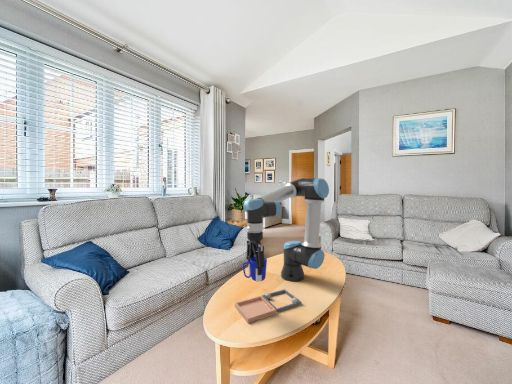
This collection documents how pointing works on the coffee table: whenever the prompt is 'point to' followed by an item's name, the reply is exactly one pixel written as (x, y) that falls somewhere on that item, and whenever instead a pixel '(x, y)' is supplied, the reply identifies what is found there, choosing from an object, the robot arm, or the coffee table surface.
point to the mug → (253, 268)
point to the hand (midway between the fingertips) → (254, 277)
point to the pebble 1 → (267, 295)
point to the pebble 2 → (294, 300)
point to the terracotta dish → (255, 309)
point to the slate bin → (283, 306)
